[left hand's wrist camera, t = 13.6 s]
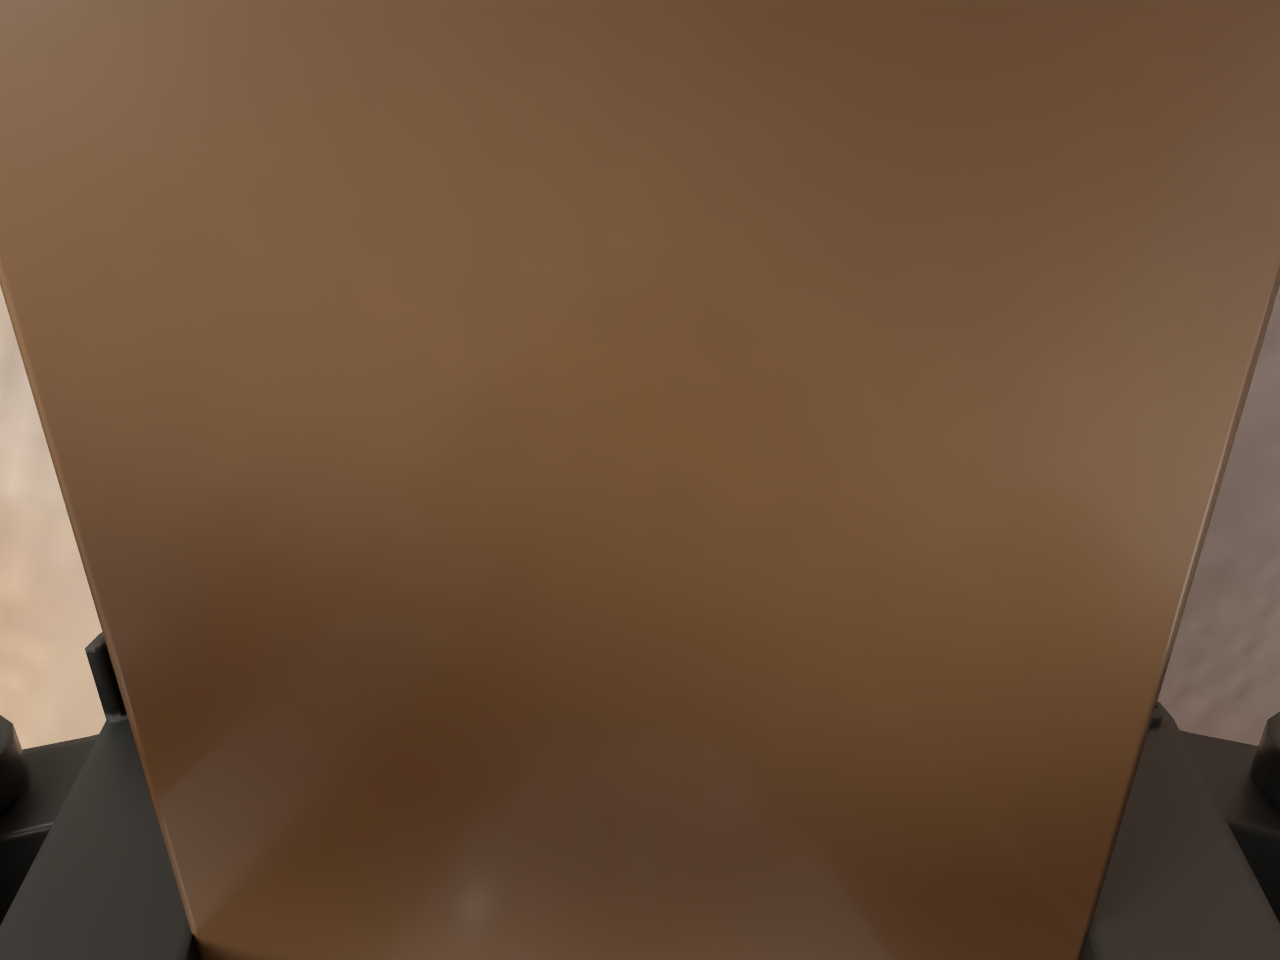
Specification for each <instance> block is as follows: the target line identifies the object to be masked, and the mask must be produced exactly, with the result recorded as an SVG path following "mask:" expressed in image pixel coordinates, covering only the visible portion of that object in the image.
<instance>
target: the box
mask: <svg viewBox="0 0 1280 960" xmlns="http://www.w3.org/2000/svg"><path fill="white" fill-rule="evenodd" d="M0 285H1V288H2V292H3V295H4V298H5V302H6V305H7V309H8V312H9V315H10V319H11V322H12V326H13V329H14V332H15V336H16V339H17V343H18V346H19V349H20V353H21V356H22V360H23V363H24V366H25V370H26V373H27V376H28V380H29V383H30V387H31V390H32V393H33V397H34V400H35V404H36V407H37V410H38V414H39V417H40V421H41V424H42V427H43V431H44V434H45V438H46V441H47V444H48V448H49V451H50V455H51V458H52V461H53V465H54V468H55V471H56V475H57V478H58V482H59V485H60V488H61V492H62V495H63V499H64V502H65V505H66V509H67V512H68V516H69V519H70V522H71V526H72V529H73V533H74V536H75V539H76V543H77V546H78V550H79V553H80V556H81V560H82V563H83V566H84V570H85V573H86V577H87V580H88V583H89V587H90V590H91V594H92V597H93V600H94V604H95V607H96V611H97V614H98V617H99V621H100V624H101V628H102V631H103V634H104V638H105V641H106V645H107V648H108V651H109V655H110V658H111V661H112V665H113V668H114V672H115V675H116V678H117V682H118V685H119V689H120V692H121V695H122V699H123V702H124V706H125V709H126V712H127V716H128V719H129V723H130V726H131V729H132V733H133V736H134V740H135V743H136V746H137V750H138V753H139V756H140V760H141V763H142V767H143V770H144V773H145V777H146V780H147V784H148V787H149V790H150V794H151V797H152V801H153V804H154V807H155V811H156V814H157V818H158V821H159V824H160V828H161V831H162V835H163V838H164V841H165V845H166V848H167V851H168V855H169V858H170V862H171V865H172V868H173V872H174V875H175V879H176V882H177V885H178V889H179V892H180V896H181V899H182V902H183V906H184V909H185V913H186V916H187V919H188V923H189V926H190V930H191V933H192V935H193V938H194V942H195V945H196V948H197V952H198V955H199V959H200V960H1080V957H1081V954H1082V950H1083V947H1084V943H1085V940H1086V937H1087V933H1088V931H1090V928H1091V924H1092V921H1093V918H1094V914H1095V911H1096V907H1097V904H1098V901H1099V897H1100V894H1101V890H1102V887H1103V884H1104V880H1105V877H1106V873H1107V870H1108V867H1109V863H1110V860H1111V856H1112V853H1113V850H1114V846H1115V843H1116V839H1117V836H1118V833H1119V829H1120V826H1121V822H1122V819H1123V815H1124V812H1125V809H1126V805H1127V802H1128V798H1129V795H1130V792H1131V788H1132V785H1133V781H1134V778H1135V775H1136V771H1137V768H1138V764H1139V761H1140V758H1141V754H1142V751H1143V747H1144V744H1145V741H1146V737H1147V734H1148V730H1149V727H1150V724H1151V720H1152V717H1153V713H1154V710H1155V707H1156V703H1157V700H1158V696H1159V693H1160V690H1161V686H1162V683H1163V679H1164V676H1165V673H1166V669H1167V666H1168V662H1169V659H1170V656H1171V652H1172V649H1173V645H1174V642H1175V639H1176V635H1177V632H1178V628H1179V625H1180V621H1181V618H1182V615H1183V611H1184V608H1185V604H1186V601H1187V598H1188V594H1189V591H1190V587H1191V584H1192V581H1193V577H1194V574H1195V570H1196V567H1197V564H1198V560H1199V557H1200V553H1201V550H1202V547H1203V543H1204V540H1205V536H1206V533H1207V530H1208V526H1209V523H1210V519H1211V516H1212V513H1213V509H1214V506H1215V502H1216V499H1217V496H1218V492H1219V489H1220V485H1221V482H1222V479H1223V475H1224V472H1225V468H1226V465H1227V462H1228V458H1229V455H1230V451H1231V448H1232V445H1233V441H1234V438H1235V434H1236V431H1237V428H1238V424H1239V421H1240V417H1241V414H1242V410H1243V407H1244V404H1245V400H1246V397H1247V393H1248V390H1249V387H1250V383H1251V380H1252V376H1253V373H1254V370H1255V366H1256V363H1257V359H1258V356H1259V353H1260V349H1261V346H1262V342H1263V339H1264V336H1265V332H1266V329H1267V325H1268V322H1269V319H1270V315H1271V312H1272V308H1273V305H1274V302H1275V298H1276V295H1277V291H1278V288H1279V285H1280V0H0Z"/></svg>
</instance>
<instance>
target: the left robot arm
mask: <svg viewBox="0 0 1280 960" xmlns="http://www.w3.org/2000/svg"><path fill="white" fill-rule="evenodd" d="M85 651H86V654H87V657H88V660H89V664H90V667H91V670H92V674H93V677H94V680H95V683H96V687H97V690H98V693H99V697H100V700H101V703H102V707H103V710H104V713H105V716H106V722H105V724H104V726H103V728H102V730H101V732H100V734H98V735H94V736H90V737H85V738H80V739H75V740H70V741H65V742H60V743H54V744H49V745H44V746H39V747H34V748H29V749H24V750H22V748H21V745H20V743H19V740H18V737H17V734H16V732H15V729H14V726H13V724H12V723H11V722H10V721H8V720H7V719H5V718H4V717H2V716H1V715H0V960H200V959H199V955H198V952H197V948H196V945H195V942H194V938H193V935H192V933H191V930H190V926H189V923H188V919H187V916H186V913H185V909H184V906H183V902H182V899H181V896H180V892H179V889H178V885H177V882H176V879H175V875H174V872H173V868H172V865H171V862H170V858H169V855H168V851H167V848H166V845H165V841H164V838H163V835H162V831H161V828H160V824H159V821H158V818H157V814H156V811H155V807H154V804H153V801H152V797H151V794H150V790H149V787H148V784H147V780H146V777H145V773H144V770H143V767H142V763H141V760H140V756H139V753H138V750H137V746H136V743H135V740H134V736H133V733H132V729H131V726H130V723H129V719H128V716H127V712H126V709H125V706H124V702H123V699H122V695H121V692H120V689H119V685H118V682H117V678H116V675H115V672H114V668H113V665H112V661H111V658H110V655H109V651H108V648H107V645H106V641H105V638H104V634H103V632H102V633H100V634H99V635H98V636H97V637H96V638H95V639H94V640H93V641H92V642H91V643H90V644H89V645H88V646H87V647H86V648H85ZM1080 960H1280V712H1279V713H1277V714H1276V715H1274V716H1273V717H1271V718H1270V719H1268V721H1267V724H1266V726H1265V729H1264V732H1263V735H1262V738H1261V740H1260V743H1259V746H1254V745H1249V744H1244V743H1239V742H1234V741H1228V740H1223V739H1218V738H1213V737H1208V736H1203V735H1198V734H1193V733H1188V732H1184V731H1181V730H1179V729H1178V727H1177V725H1176V723H1175V721H1174V719H1173V718H1172V717H1171V716H1170V714H1169V713H1168V712H1167V711H1166V710H1165V708H1164V707H1163V706H1162V705H1161V704H1160V703H1159V702H1158V701H1157V703H1156V707H1155V710H1154V713H1153V717H1152V720H1151V724H1150V727H1149V730H1148V734H1147V737H1146V741H1145V744H1144V747H1143V751H1142V754H1141V758H1140V761H1139V764H1138V768H1137V771H1136V775H1135V778H1134V781H1133V785H1132V788H1131V792H1130V795H1129V798H1128V802H1127V805H1126V809H1125V812H1124V815H1123V819H1122V822H1121V826H1120V829H1119V833H1118V836H1117V839H1116V843H1115V846H1114V850H1113V853H1112V856H1111V860H1110V863H1109V867H1108V870H1107V873H1106V877H1105V880H1104V884H1103V887H1102V890H1101V894H1100V897H1099V901H1098V904H1097V907H1096V911H1095V914H1094V918H1093V921H1092V924H1091V928H1090V931H1088V933H1087V937H1086V940H1085V943H1084V947H1083V950H1082V954H1081V957H1080Z"/></svg>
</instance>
